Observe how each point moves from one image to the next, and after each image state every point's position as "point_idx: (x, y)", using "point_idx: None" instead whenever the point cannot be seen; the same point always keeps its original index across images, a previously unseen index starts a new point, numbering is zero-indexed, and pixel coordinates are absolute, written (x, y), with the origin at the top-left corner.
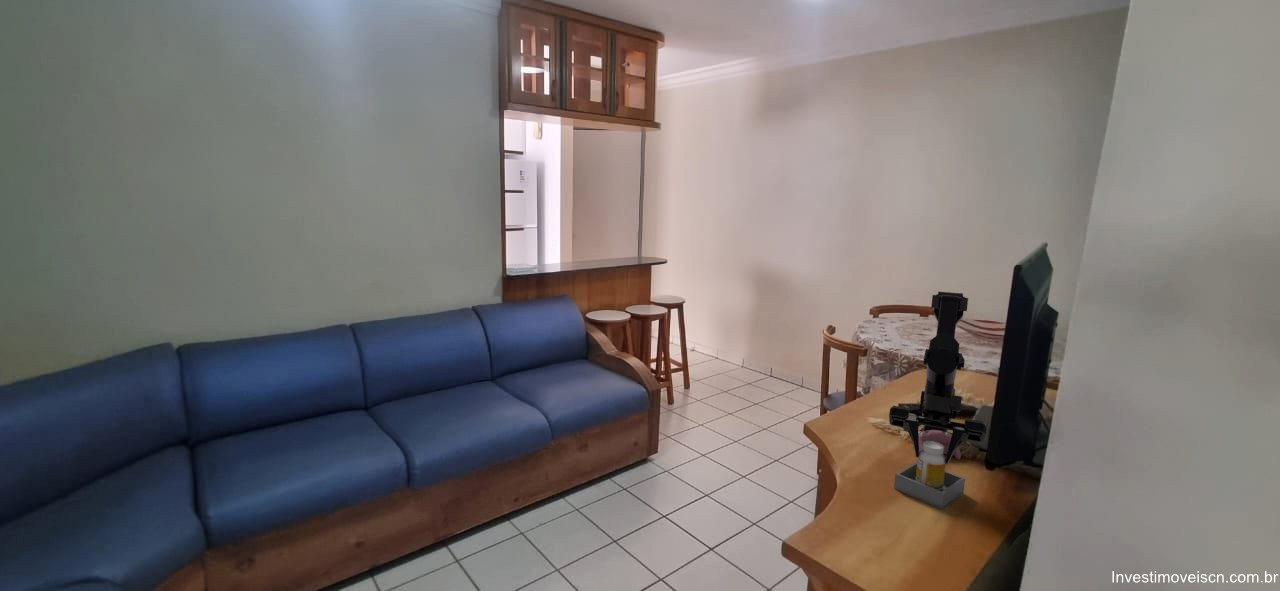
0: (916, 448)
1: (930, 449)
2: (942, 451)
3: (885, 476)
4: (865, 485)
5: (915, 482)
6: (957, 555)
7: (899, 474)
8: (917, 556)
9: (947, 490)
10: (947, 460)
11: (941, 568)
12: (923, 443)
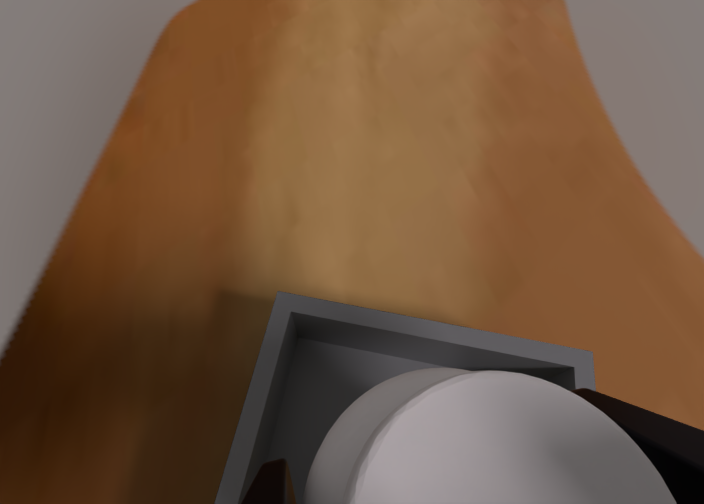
0: (657, 426)
1: (488, 372)
2: (344, 502)
3: None
4: (647, 304)
5: (451, 326)
6: (198, 80)
7: (570, 362)
8: (299, 24)
9: (262, 355)
10: (269, 467)
11: (234, 16)
12: (659, 475)
